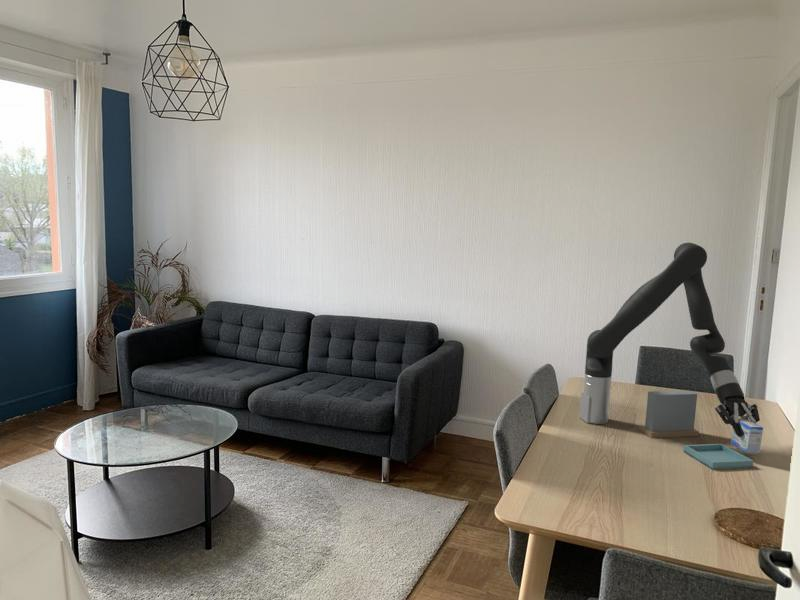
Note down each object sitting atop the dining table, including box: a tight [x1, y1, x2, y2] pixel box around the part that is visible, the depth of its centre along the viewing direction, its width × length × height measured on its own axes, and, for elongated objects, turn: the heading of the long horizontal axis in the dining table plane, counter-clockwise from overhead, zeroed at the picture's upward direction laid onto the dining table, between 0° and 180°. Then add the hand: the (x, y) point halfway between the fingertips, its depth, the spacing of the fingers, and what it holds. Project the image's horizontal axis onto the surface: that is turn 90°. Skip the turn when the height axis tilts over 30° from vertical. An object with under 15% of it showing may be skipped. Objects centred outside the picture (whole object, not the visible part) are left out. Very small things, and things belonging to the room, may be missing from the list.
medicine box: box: [730, 417, 764, 454], centre depth 186 cm, size 8×4×9 cm, turn 6°
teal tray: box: [682, 443, 754, 471], centre depth 183 cm, size 14×14×2 cm
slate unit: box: [639, 390, 700, 438], centre depth 205 cm, size 18×7×14 cm, turn 100°
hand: (748, 435), depth 185 cm, fingers closed on medicine box, 4 cm apart
